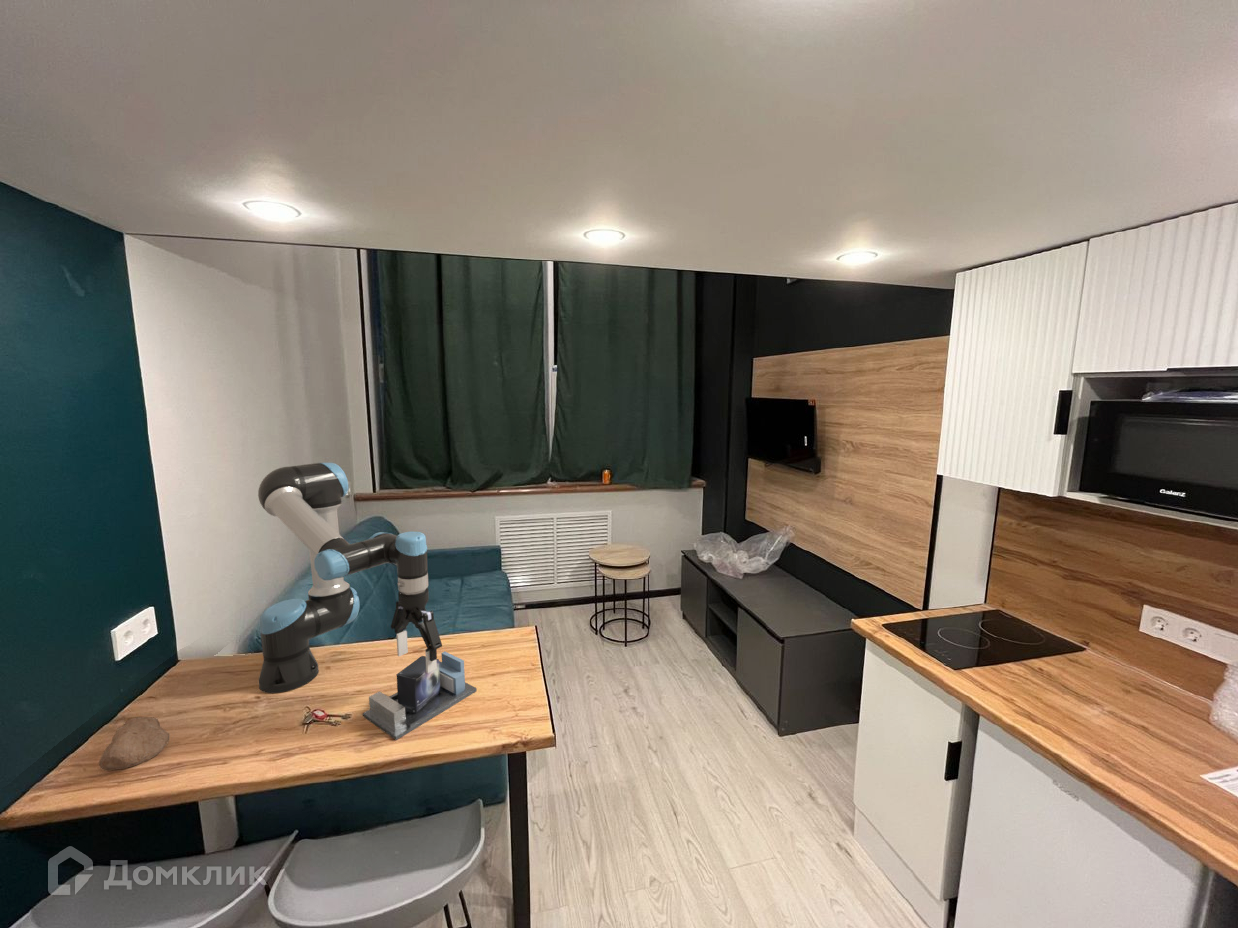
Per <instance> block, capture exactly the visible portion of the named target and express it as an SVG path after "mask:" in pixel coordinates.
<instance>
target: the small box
mask: <svg viewBox="0 0 1238 928" xmlns="http://www.w3.org/2000/svg"><path fill="white" fill-rule="evenodd" d="M436 660H437V669H435V670H433V671H431V672H429V673H427V672H426V655H421V656H419V657H418V658H417V659H416V660H414V661H413V662H411V663H410V664H409V665H407V666H406V667H405V668H403V669H402V670H400V671H399V672H398V673H397V674H396V690H397V692H396V693H398V703H399V704H401V705H402V706H404V707H405V711H406V712H410V713H415V714H416V713H418V712H419V711H420V710H421V709H422V708H423V707H424V706H425V705H427V704H428V703H429V702H430V701H431V700H432V699H433V698H434V697H436V696H437V695H438V694H439V693H440V671H439V661H440V659H439V658H437V659H436Z"/></svg>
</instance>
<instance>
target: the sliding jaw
mask: <svg viewBox="0 0 1238 928" xmlns="http://www.w3.org/2000/svg"><path fill="white" fill-rule="evenodd" d="M439 671H440V686H441V687H443V688H445V689H447V690H449V691H450V692H452V693H454V694H456V695H457V694H458V693H460V692H462V691H463V690H465V682H466V678H465V675H466V674H465V660H464V659H462V658H460V657H457V656H455V655H453V654H450V653H449V652H447V651H442V652H441V661H440V660H439Z"/></svg>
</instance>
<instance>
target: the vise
mask: <svg viewBox="0 0 1238 928" xmlns="http://www.w3.org/2000/svg"><path fill="white" fill-rule="evenodd" d="M476 692H477V687H475V686H473V685H471V684H469V683H467V682H466V681H465V690H463V691H462V692H460V693H458V694H457V695H456V694H454V693H452V692H450V691H449V690H447V689H445V688H443V687H441V686H440V693H439V694H438V695H437V696H436V697H434V698H433V699H432V700H431V701H430V702H429V703H428V704H427V705H425V706H424V707H423V708H422V709H421V710H420V711H419V712H418V713H416V714H415V713H410V712H406V711H405V707H404V706H402V705H401V704H399V703H398V693H397V692H395V693H393V694H391V695H390V696H388V695H386V694H385V693H383V692H381V691H377V692H376V693H373V694H371V695H369V696H368V705H369V709H368V710H366V711H365V712H362V717H363V718H364V719H365V720H367V721H368V722H370V723H371V724H373V725H374V726H375V727H377V728H378V729H380V730H381V731H382V732H384V733H385V734H387V735H388V736H389V737H391V738H392V739H394V740H396V741H397V740H399V739H401V738H403V737H405V735H407V734H409V733H410V732H412V731H414V730H416V729H417V728H419V727H421V726H422V725H424V724H425V723H427V722H429V721H430V720H433V719H434V718H435V717H437V716H438V715H440V714H441V713H444V712H445V711H447V710H448V709H450V708H452V707H453V706H455V705H456V704H458V703H459V702H461V701H463V700H465V699H466V698H468V697H469V696H471V695H473V694H475V693H476Z"/></svg>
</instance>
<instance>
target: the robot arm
mask: <svg viewBox="0 0 1238 928" xmlns="http://www.w3.org/2000/svg"><path fill="white" fill-rule="evenodd" d="M348 491H349V480H348V478H347V475H346V473H345V471H344V470H343V469H342V467H341V466H339V464H337V463H334V462H316V463H315V462H314V463H307V464H299V465H292V466H283V467H279V468H276V469H274V470H272V471H271V472H269V473H268V474H267V475H266V476H265V477H264V478H262V481H261V482H260V484H259V487H258V491H257V493H258V495H257V496H258V502H259V504H260V506H262V508H263V509H264V510H265V511H266V513H267V514H269V515H270V516H272V517H277V518H278V519H279V520H280V521H281V522H282V523H283V524H284V525H285V526H286V528H288V529H289V530H290V531H291V533H293V534H294V536H295V537H297V538H298V539H299V540H300V541H301V543H302V544H304V546H305V547H306V548H307V549H308V551H309V559H310V561H309V563H310V570H311V580H312V586H311V588H310V589H309V590H308V592H307V594H308V595H307V596H308V599H307V600H304V599H302V598H291V599H285V600H282V601H279V602H277V603H274V604H272V605H270V606H269V607H268V608H265V610H264V611H263V612H262V614H261V615H260V617H259V633H260V640H261V648H262V657H263V663H262V665H261V670H260V673H259V677H258V688H259V690H260V691H261V692H264V693H267V694H279V693H284V692H289V691H292V690H296V689H298V688H301V687H303V686H304V685H307V684H308V683H310V682H312V681H313V680H314V679H315V678H316V677H317V676H318V675H319V671H320V669H319V663H318V661H317V660H316V658H315V656H314V654H313V652H312V650H311V649H310V640H311V639H315V638H316V637H318V636H321V635H323V634H326V633H329V632H332V631H334V630H336V629H339V628H343V627H344V626H346V625H348V624H350V623H352V622H354V621H355V619H356V618H357V617H358V614H359V613H360V612H359V611H360V604H361V603H360V598H359V595H358V592H357V590H356V589H355V588H353V587H351V586H350V583H348V582H347V581H345V580H344V577H346V576H349V575H352V574H356V573H359V572H362V571H365V570H369V569H372V568H375V567H379V566H382V565H384V564H390V565H394V566H396V572H397V583H396V584H397V589H398V590H397V591H398V595H397V596H398V600H397V601H396V602H395V610H394V613H393V617H392V621H391V624H390V629H391V630H394V633H395V634H396V649H397V650H396V651H397V652H396V653H397V657H401V656H404V655H405V654H407V653H408V652H409V650H408V649H409V647H408V646H409V645H408V631H407V629H408V628H407V627H408V625H409V623H411V624H413V625H414V627H415V628H416V629H417V630H418V631H419V633H420V636H421V638H422V640H423V642H424V644H425V646H426V649H425V650H424V651H425V652H424V653H425V656H426V672H427V673H429V672H431V671H433V670H435V669H437V660H436V659H438V655H437V654H438V652H437V651H438V650H439V649H440V648H442V647H443V644H442V640H441V636H440V634H439V631H438V628H437V624H436V620H435V614H434V611H433V610H429V611H427V610H426V605H427V604H428V603H429V599H430V598H429V596H430V594H429V588H428V587H429V573H428V545H427V538H426V537H427V536H426V535H425V534H424V533H423V532H421V531H405V532H402V533H399V534H398V535H396V534H393V533H390V532H383V531H382V532H381V531H379V532H376V533H374V534H373V535H371V536H370V537H369V538H368V539H365V540H362V541H357V542H354V543H349V542H348V541H347V540H346V539H345V538H344V537H343V536H342V535H341V534H340V528H339V519H338V516H339V515H338V509H339V507H340V506H342V502H343V501H342V498H344V497H345V496H346V495H347V494H348Z"/></svg>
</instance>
